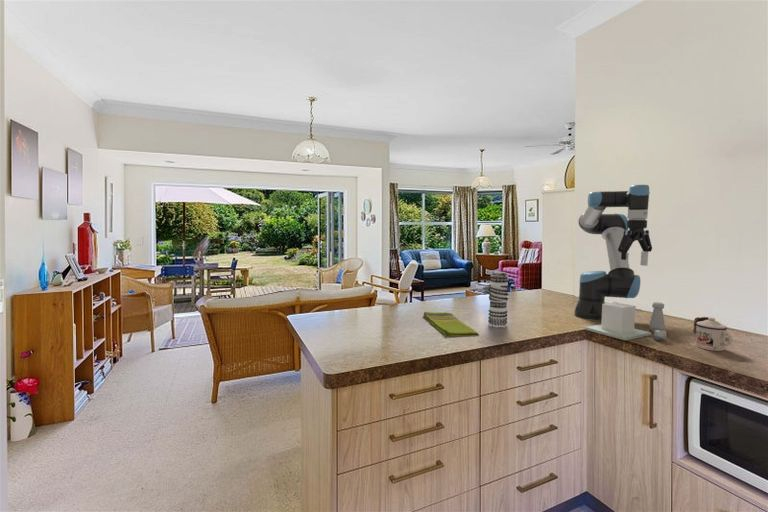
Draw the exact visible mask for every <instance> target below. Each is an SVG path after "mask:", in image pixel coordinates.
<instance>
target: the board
mask: <svg viewBox="0 0 768 512" xmlns="http://www.w3.org/2000/svg"><path fill="white" fill-rule="evenodd" d="M584 330H585V331H589V332H592V333H596V334H599V335H604V336H608V337H611V338H615V339H619V340H622V341H630V340H636V339H640V338H644V336H645V337H648V335H649V336H651V335H652V331H646V330H644V329H640V328H639V329H638V328H635V327H634V331H632V332H627V333H622V334H621V333H617V332H613V331H610V330H606V329H602V328H601V323H600V324H596V325H589V326H584Z"/></svg>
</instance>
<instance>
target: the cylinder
mask: <svg viewBox="0 0 768 512" xmlns="http://www.w3.org/2000/svg"><path fill="white" fill-rule="evenodd" d="M653 335H654V336H653V340H654V341H656V342H658V341H659V342H660V343H665V342H667V331H666V330H665V329H664V330H654V332H653Z"/></svg>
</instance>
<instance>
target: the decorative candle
mask: <svg viewBox="0 0 768 512" xmlns="http://www.w3.org/2000/svg"><path fill="white" fill-rule="evenodd" d="M508 279H509V275H508V274H507V273H506V272H504V271H492V273H491V274H490V281H489V285H488V291H489V292H488V301H489V309H488V312H489V313H488V317H487V319H488V321H487V322H488V326H490V327H492V326H493V327H492V328H498V327H503V328H507V327H508V307H507V306H508V305H507V303H508V302H509V297H508V296H509V289H508V288H510V285H509V283H508ZM506 326H507V327H506Z"/></svg>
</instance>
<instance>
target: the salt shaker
mask: <svg viewBox="0 0 768 512" xmlns="http://www.w3.org/2000/svg"><path fill="white" fill-rule="evenodd" d="M652 308H653V310H652V314H651V317H650V321H649V325H648V327H649V330H650V332H651V333H654V330H664V331H665V330H666V325H665V319H664V312H663V309H664V308H665V304H664V303H662V302H657V301H655V302H653V303H652Z"/></svg>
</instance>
